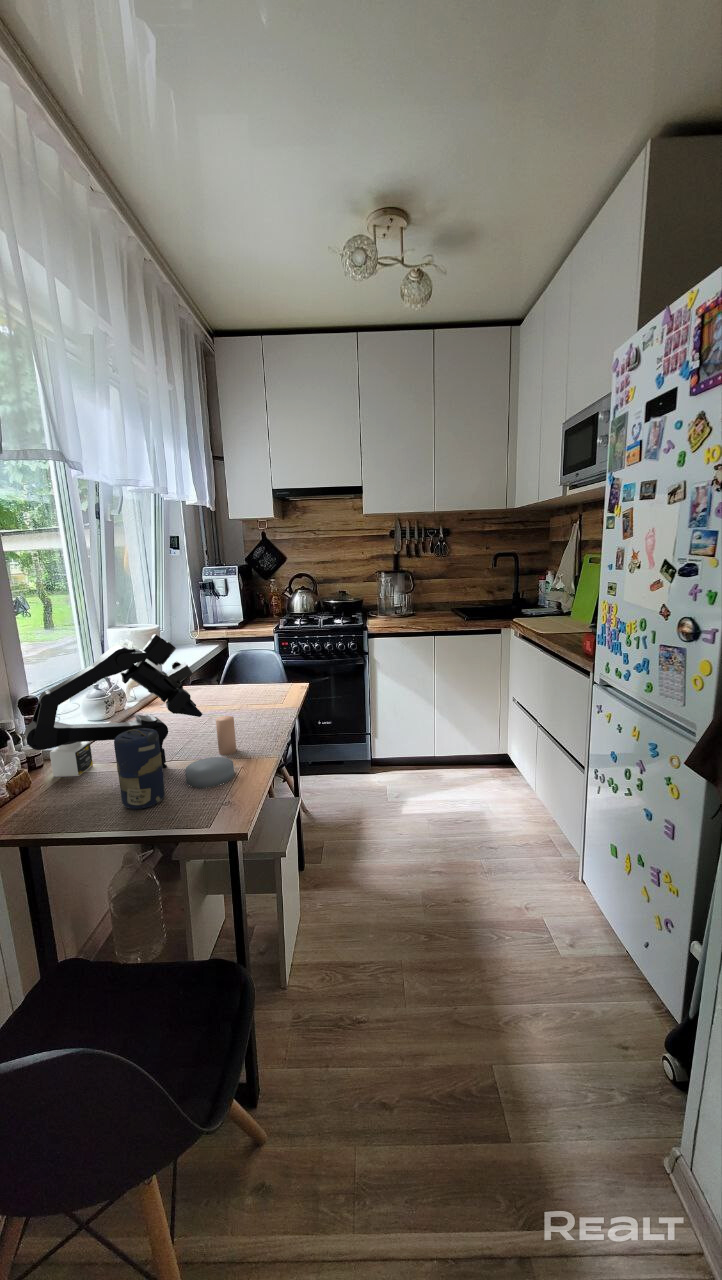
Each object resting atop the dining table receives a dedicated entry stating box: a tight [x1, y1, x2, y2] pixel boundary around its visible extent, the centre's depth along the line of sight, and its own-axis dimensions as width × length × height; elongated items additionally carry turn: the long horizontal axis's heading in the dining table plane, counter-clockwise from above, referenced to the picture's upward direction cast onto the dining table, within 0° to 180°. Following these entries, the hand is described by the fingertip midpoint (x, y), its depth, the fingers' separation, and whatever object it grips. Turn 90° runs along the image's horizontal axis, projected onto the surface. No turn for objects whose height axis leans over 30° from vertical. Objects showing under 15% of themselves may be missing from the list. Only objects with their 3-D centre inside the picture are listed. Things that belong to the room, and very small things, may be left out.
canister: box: [113, 728, 166, 810], centre depth 119 cm, size 10×10×18 cm
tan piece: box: [215, 715, 237, 756], centre depth 148 cm, size 5×5×10 cm
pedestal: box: [184, 756, 235, 789], centre depth 132 cm, size 12×12×3 cm
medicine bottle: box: [49, 741, 94, 778], centre depth 138 cm, size 7×7×12 cm
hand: (198, 711), depth 143 cm, fingers open, 9 cm apart
